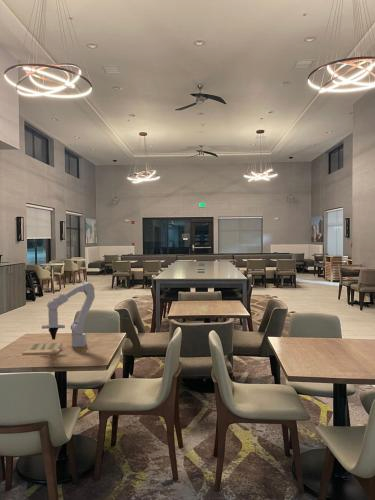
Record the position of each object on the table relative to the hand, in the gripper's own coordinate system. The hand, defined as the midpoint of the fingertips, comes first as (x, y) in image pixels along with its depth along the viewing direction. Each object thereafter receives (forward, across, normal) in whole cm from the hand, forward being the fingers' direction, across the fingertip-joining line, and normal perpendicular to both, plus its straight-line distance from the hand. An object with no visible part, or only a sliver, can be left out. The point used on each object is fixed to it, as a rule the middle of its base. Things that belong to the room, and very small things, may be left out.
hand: (53, 339), depth 268 cm
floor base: (+7, +6, +4) cm, 10 cm away
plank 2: (+5, 0, +1) cm, 5 cm away
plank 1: (+5, +11, +1) cm, 12 cm away
